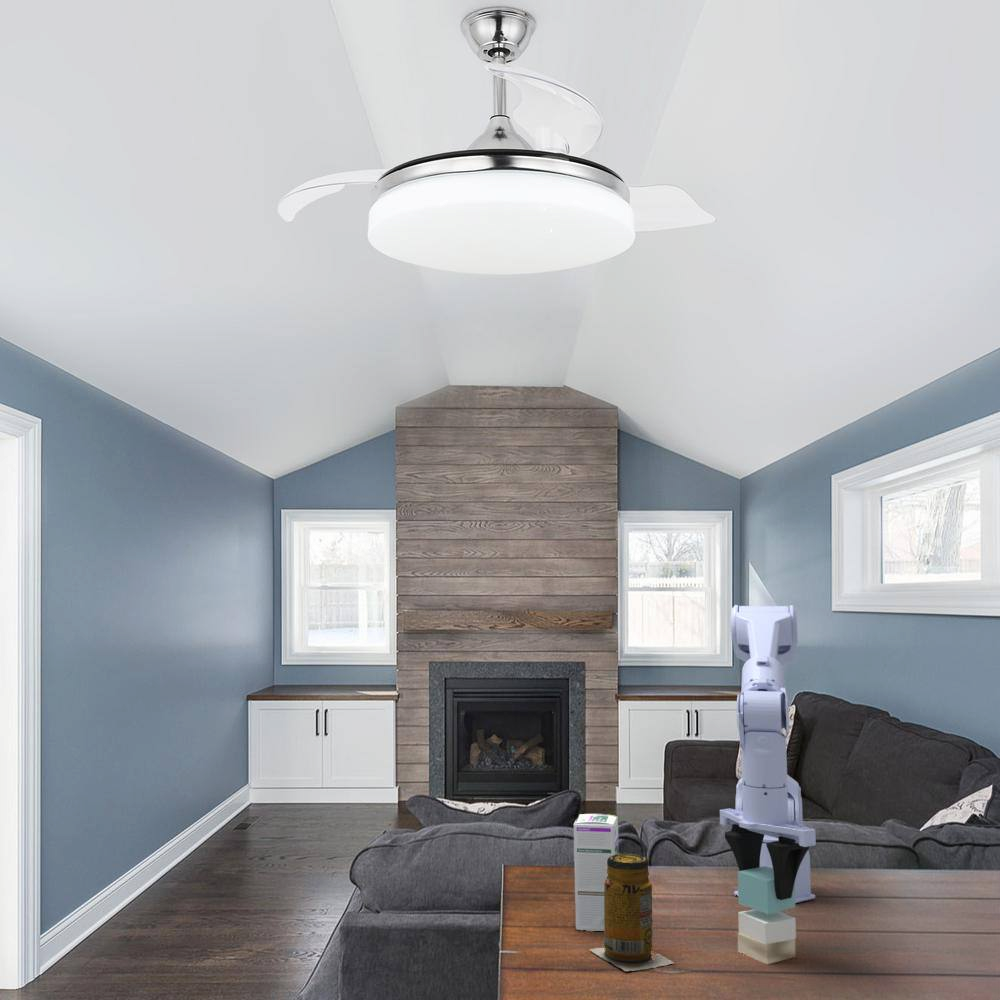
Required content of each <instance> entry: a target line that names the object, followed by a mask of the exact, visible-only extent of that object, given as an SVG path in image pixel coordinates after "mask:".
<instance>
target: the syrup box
mask: <svg viewBox="0 0 1000 1000" xmlns="http://www.w3.org/2000/svg"><path fill="white" fill-rule="evenodd" d="M619 848H620V846H619V817H618V815H615V814H606V813H584V814H583V813H582V814H581V813H580V814H579V815H578V817H577V818H576V819H575V820H574V823H573V862H574V864H573V865H574V866H573V867H574V909H575V910H574V912H575V913H574V914H575V929H576V930H579V931H583V930H586V931H585V932H593V931H604V882H605V879H606V878H607V876H608V874H607V860H608V858H609V857H610V856H612V855H615V854H620V852H619V850H620V849H619Z"/></svg>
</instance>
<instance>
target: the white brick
mask: <svg viewBox="0 0 1000 1000" xmlns="http://www.w3.org/2000/svg"><path fill="white" fill-rule="evenodd" d="M796 921H797V920H796V917H794V916H791V915H788V914H786V913H784V912H782V911H779V912H774V913H770V914H767V913H764V912H761V911H758V910H755V909H753V908H752V909H748V910H743V911H738V933H742V934H744V935H746V936H748V937H750V938H752V939H755V940H757V941H759V942H761V943H763V944H765V945H766V944H771V943H776V942H781V941H787V940H792V939H795V940H796V939H797V927H796V925H797V924H796V923H797V922H796Z"/></svg>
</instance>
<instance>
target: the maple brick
mask: <svg viewBox="0 0 1000 1000" xmlns="http://www.w3.org/2000/svg"><path fill="white" fill-rule="evenodd" d="M737 952H738V953H739V952H740V954H741V953H743V954H742V955H744V954H746V955H747V957H749V956H750V957H749V958H751V957H752V958H751V959H753V958H754V959H753V960H756V961H758V962H760V963H763V964H765V965H770V964H774V963H777V962H781V961H784V960H789V959H792V957H793V958H796V939H792V940H787V941H781V942H776V943H771V944H766V945H765V944H763V943H761V942H759V941H757V940H755V939H752V938H750V937H748V936H746V935H744V934H742V933H739V932H738V933H737ZM746 955H745V956H746Z"/></svg>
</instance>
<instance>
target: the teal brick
mask: <svg viewBox="0 0 1000 1000" xmlns="http://www.w3.org/2000/svg"><path fill="white" fill-rule="evenodd" d="M737 891H738V896H737V901H738V905H741V906H744V907H747V908H749V909H752V910H753V909H755V910H758V911H761V912H764V913H767V914H770V913H774V912H782V911H787V910H791V909H794V908H796V903H795V883H794V887H793V892H792V897H791V898H788V899H784V900H779V899H777V897H776V893H775V885H774V871H773V868H770V867H766V866H763V867H758V868H753V869H748V870H743V871H737Z"/></svg>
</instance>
